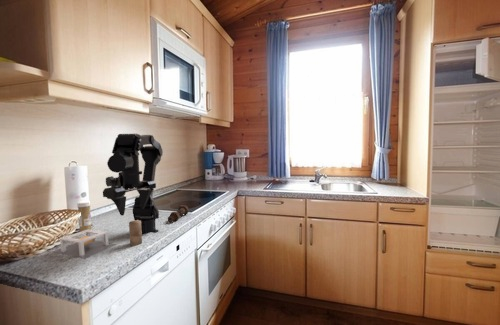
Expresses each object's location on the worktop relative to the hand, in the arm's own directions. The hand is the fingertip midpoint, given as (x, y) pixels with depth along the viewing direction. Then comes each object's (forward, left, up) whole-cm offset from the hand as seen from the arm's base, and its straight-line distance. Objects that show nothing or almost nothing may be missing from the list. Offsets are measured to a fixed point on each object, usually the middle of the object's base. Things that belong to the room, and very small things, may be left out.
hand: (132, 211), depth 90 cm
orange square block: (+9, -14, -10) cm, 19 cm away
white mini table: (+9, -14, -13) cm, 21 cm away
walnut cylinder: (0, 0, -13) cm, 13 cm away
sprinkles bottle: (-4, -32, -13) cm, 35 cm away
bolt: (-34, -6, -13) cm, 37 cm away
